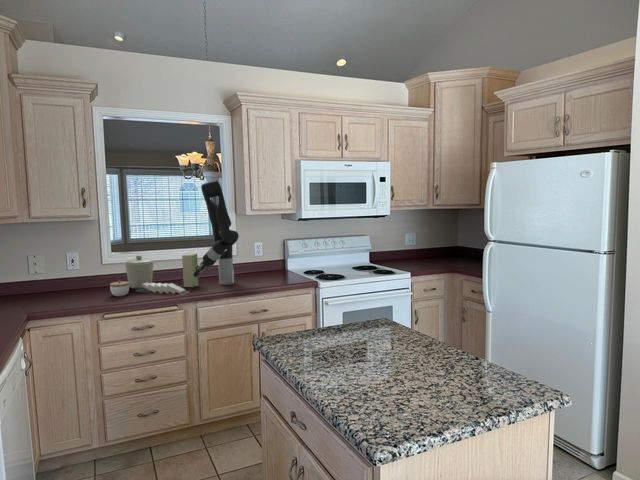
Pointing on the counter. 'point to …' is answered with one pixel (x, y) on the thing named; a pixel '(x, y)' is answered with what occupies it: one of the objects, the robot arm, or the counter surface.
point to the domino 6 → (175, 288)
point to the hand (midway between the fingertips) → (194, 275)
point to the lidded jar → (119, 288)
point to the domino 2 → (148, 287)
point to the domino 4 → (160, 287)
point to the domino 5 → (167, 288)
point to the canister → (139, 271)
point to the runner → (168, 293)
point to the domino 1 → (143, 290)
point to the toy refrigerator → (189, 270)
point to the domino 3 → (154, 287)
